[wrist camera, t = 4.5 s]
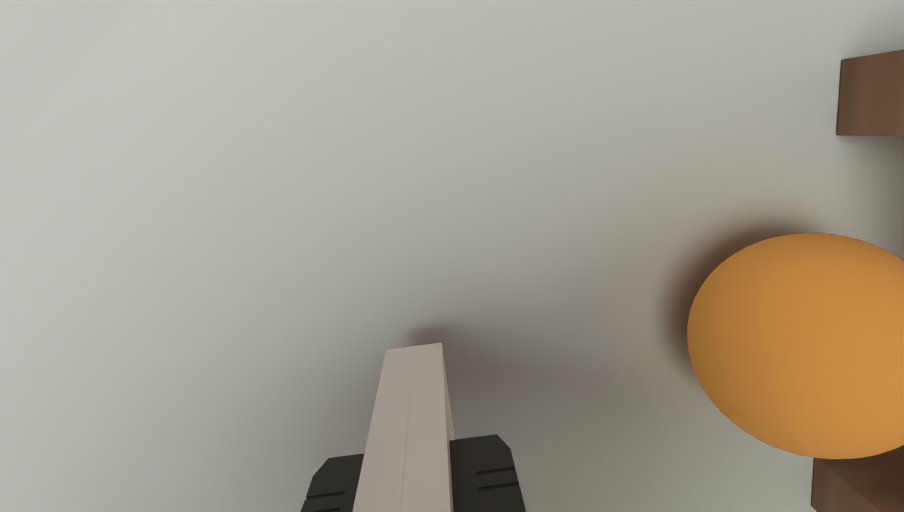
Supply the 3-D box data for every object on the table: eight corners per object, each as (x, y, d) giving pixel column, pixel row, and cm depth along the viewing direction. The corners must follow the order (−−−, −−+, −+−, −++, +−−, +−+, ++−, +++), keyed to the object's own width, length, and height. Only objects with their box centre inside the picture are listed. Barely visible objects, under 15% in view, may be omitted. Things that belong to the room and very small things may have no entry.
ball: (1014, 521, 10) (717, 509, 12) (867, 376, 15) (673, 379, 17) (1066, 268, 9) (715, 289, 10) (882, 199, 14) (667, 220, 15)
